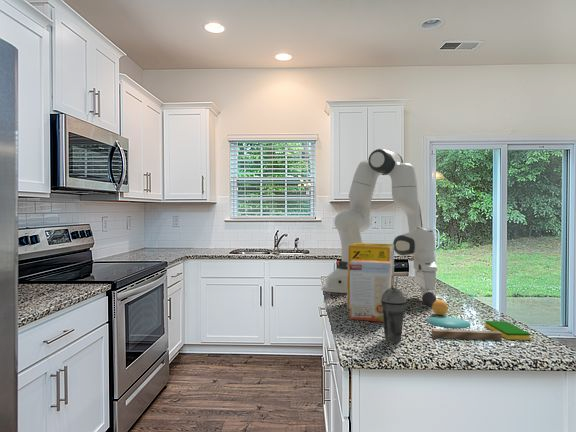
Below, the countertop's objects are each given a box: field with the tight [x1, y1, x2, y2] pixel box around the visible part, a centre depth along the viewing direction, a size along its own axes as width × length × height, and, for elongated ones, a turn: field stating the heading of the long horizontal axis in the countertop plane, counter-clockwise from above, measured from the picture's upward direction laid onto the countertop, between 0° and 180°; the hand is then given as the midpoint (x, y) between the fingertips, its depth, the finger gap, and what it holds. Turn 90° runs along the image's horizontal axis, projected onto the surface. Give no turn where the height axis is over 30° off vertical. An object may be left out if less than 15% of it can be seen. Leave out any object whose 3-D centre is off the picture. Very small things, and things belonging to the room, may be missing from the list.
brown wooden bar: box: [431, 328, 503, 341], centre depth 122 cm, size 20×2×2 cm, turn 85°
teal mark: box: [426, 316, 471, 329], centre depth 139 cm, size 14×14×1 cm
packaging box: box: [346, 242, 395, 309], centre depth 163 cm, size 16×16×25 cm
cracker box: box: [349, 260, 391, 323], centre depth 142 cm, size 14×6×21 cm, turn 71°
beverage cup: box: [381, 273, 407, 344], centre depth 119 cm, size 7×7×20 cm
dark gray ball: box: [421, 291, 437, 307], centre depth 164 cm, size 6×6×6 cm
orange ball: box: [431, 299, 449, 316], centre depth 149 cm, size 6×6×6 cm
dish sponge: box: [484, 320, 531, 341], centre depth 128 cm, size 7×14×2 cm, turn 0°
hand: (423, 296), depth 173 cm, fingers closed
